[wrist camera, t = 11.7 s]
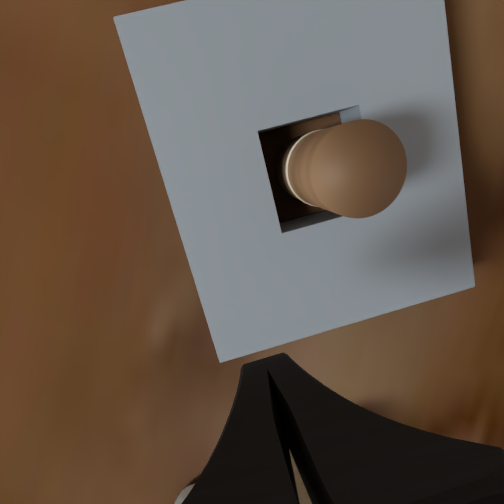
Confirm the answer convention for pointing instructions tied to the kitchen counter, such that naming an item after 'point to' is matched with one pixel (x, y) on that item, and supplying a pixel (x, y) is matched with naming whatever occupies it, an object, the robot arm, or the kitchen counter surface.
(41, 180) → the kitchen counter surface
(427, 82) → the board
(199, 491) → the robot arm
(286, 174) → the peg
